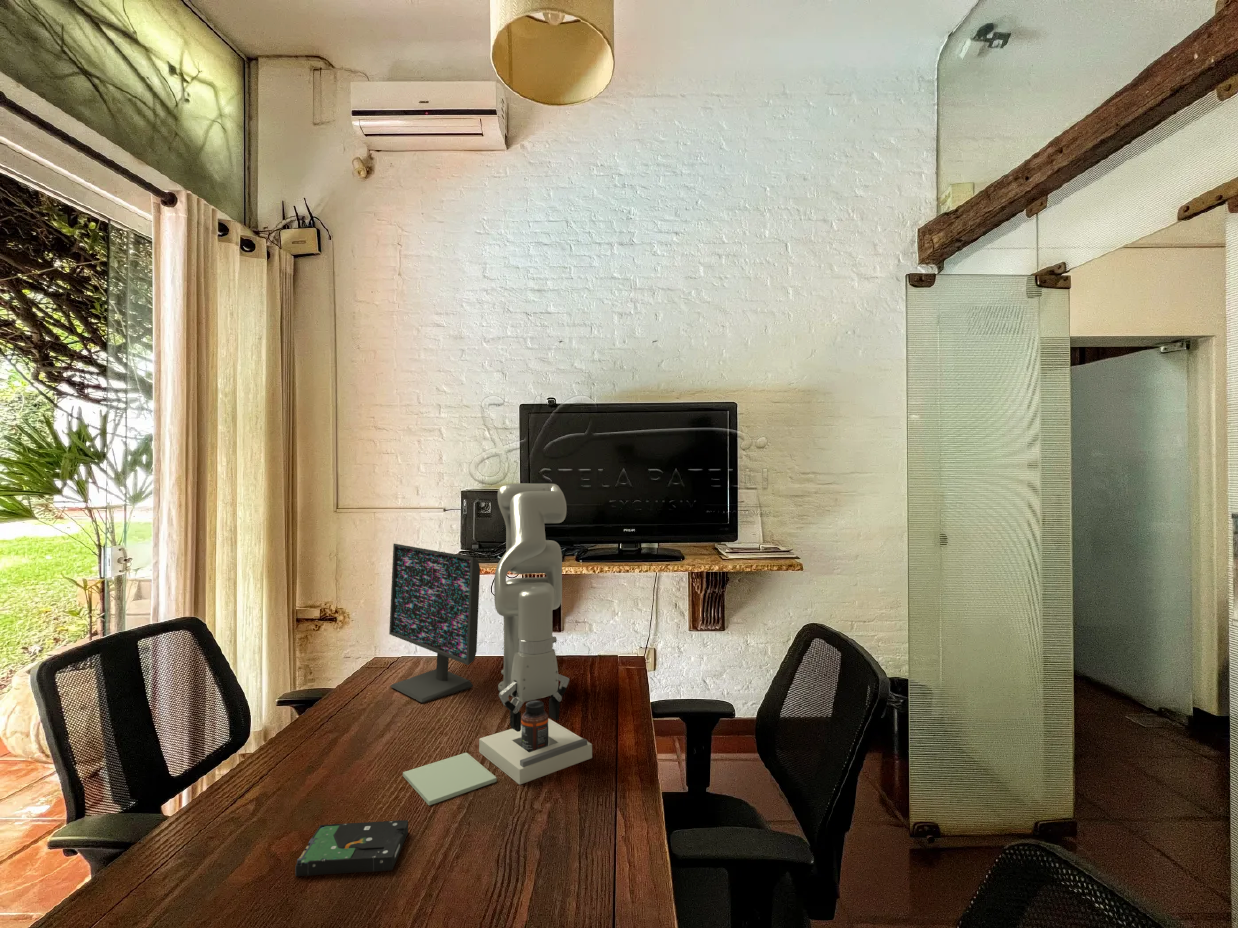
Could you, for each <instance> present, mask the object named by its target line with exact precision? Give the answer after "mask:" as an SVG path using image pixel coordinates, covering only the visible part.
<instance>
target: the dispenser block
mask: <svg viewBox="0 0 1238 928" xmlns="http://www.w3.org/2000/svg"><path fill="white" fill-rule="evenodd" d="M521 733H522V727H521V730H520V731H519V732H517V731H516V730H514V729H512V728H510V729H506V730H502V731H500V732H497V733H493V734H490V735H487V736H483V737H480V738H479V741H478V752H479V753H480V755H482V756H484V757H485V758H486V759H487V760H488V761H489V762H491V763H492V764H493V765H494V766H496V767H497V768H498V769H500V771H502V772H503V773H505V774H506V775H507V776H508V777H510V778H511V779H512V780H513V781H514V782H515V783H516V784H518V785H522V784H525V783H528V782H531V781H534V780H536V779H539V778H541V777H544V776H547V775H550V774H553V773H556V772H557V771H561V770H563V769H567V768H568V767H571V766H574V765H577V764H579V763H583V762H585V761H587V760H590V759H593V744H592V743H591V742H589V741H588V739H586V738H583V737H581V736H579V735H577V734H576V733H574V732H573V731H571V730H570V729H567V728H566V727H564V726H562V725H560V724H559V723H557V722H556V721H554V720H552V718H550V717H548V740H549V742H548V743H549V746H547V747H544V748H541V749H538V750H535V751H532V752H528V751H526V750H525V749H523V748H522V734H521Z"/></svg>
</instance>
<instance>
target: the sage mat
mask: <svg viewBox="0 0 1238 928" xmlns="http://www.w3.org/2000/svg"><path fill="white" fill-rule="evenodd" d="M402 777H403V778H404V779H405V780H406V781H407V783H409V785H410V786H411V787H412V788H413V789H414V790H415V792H416V793H417V794H418V795H419V796H420V797H421V798H422V800H423V801H424V802H425V803H426V804H427V805H428V806H432V805H435V804H438V803H441V802H443V801H446V800H448V799H452V798H455V797H457V796H460V795H463V794H466V793H468V792H472V791H474V790H476V789H479V788H482V787H485V786H488V785H490V784H494V783H496V782H498V781H497V780H498V779H497V776H496V775H494V774H493V773H492V772H491V771H489V769H487V768H486V767H485V766H484V765H482V764H481V763H480V762H479V761H478V760H476V759H475V758H474V757H473V756H471V754H470V753H468V752H463V753H461V754H457V755H454V756H450V757H447V758H444V759H441V760H438V761H434V762H431V763H429V764H425V765H422V766H419V767H415V768H413V769H410V770H406V771H403V772H402Z"/></svg>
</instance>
